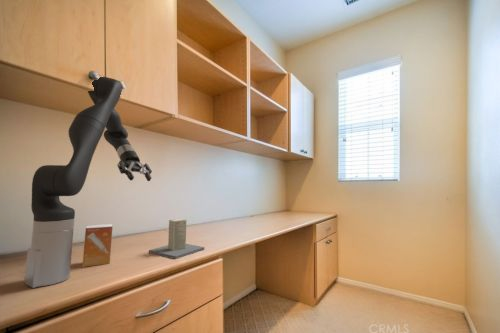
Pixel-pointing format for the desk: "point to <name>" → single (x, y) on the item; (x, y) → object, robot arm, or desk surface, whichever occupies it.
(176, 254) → the rubber mat
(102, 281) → the desk surface
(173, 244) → the skincare box
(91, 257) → the small box
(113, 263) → the desk surface
